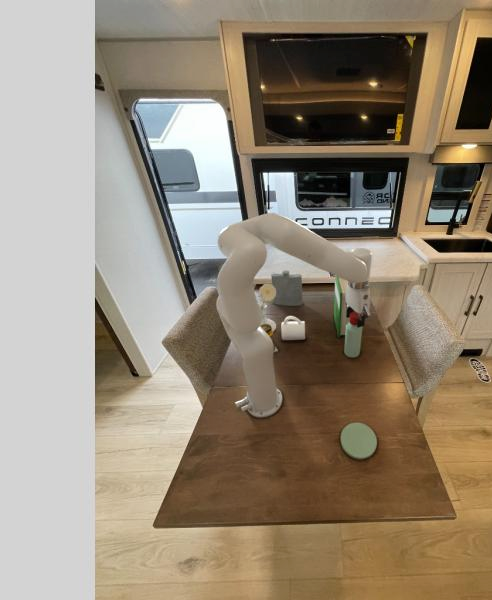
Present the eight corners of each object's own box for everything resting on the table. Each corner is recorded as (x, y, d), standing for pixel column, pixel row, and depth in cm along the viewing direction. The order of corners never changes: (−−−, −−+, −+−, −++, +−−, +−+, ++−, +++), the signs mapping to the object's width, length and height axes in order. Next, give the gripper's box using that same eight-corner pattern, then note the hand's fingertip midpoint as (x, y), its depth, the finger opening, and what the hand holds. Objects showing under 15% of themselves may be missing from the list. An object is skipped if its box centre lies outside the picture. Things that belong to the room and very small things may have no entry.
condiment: (278, 350, 115) (276, 329, 108) (260, 358, 111) (256, 336, 105) (271, 341, 120) (268, 320, 114) (253, 348, 116) (249, 326, 110)
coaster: (354, 467, 75) (355, 465, 74) (333, 434, 83) (333, 432, 82) (384, 447, 79) (384, 445, 79) (361, 418, 88) (361, 416, 87)
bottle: (350, 359, 110) (353, 323, 100) (341, 350, 115) (343, 315, 105) (362, 353, 113) (366, 317, 103) (352, 345, 118) (355, 310, 108)
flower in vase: (253, 339, 121) (245, 292, 108) (251, 325, 130) (244, 280, 117) (281, 334, 124) (277, 288, 111) (278, 320, 133) (273, 276, 120)
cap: (349, 324, 104) (349, 317, 102) (349, 319, 107) (350, 311, 105) (359, 325, 104) (360, 318, 102) (359, 319, 107) (360, 312, 105)
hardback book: (353, 336, 123) (357, 292, 110) (338, 337, 122) (340, 292, 110) (348, 314, 138) (350, 273, 125) (333, 315, 137) (335, 273, 124)
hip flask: (303, 302, 148) (301, 270, 137) (302, 306, 144) (300, 273, 134) (275, 301, 149) (271, 269, 138) (273, 305, 145) (269, 272, 135)
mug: (305, 343, 119) (304, 321, 113) (282, 344, 119) (280, 322, 112) (305, 331, 126) (304, 310, 120) (283, 332, 125) (281, 311, 119)
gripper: (382, 290, 92) (376, 330, 101) (352, 271, 104) (350, 308, 114) (365, 295, 89) (360, 336, 98) (336, 275, 101) (335, 313, 111)
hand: (355, 321), depth 106 cm, fingers open, 6 cm apart
